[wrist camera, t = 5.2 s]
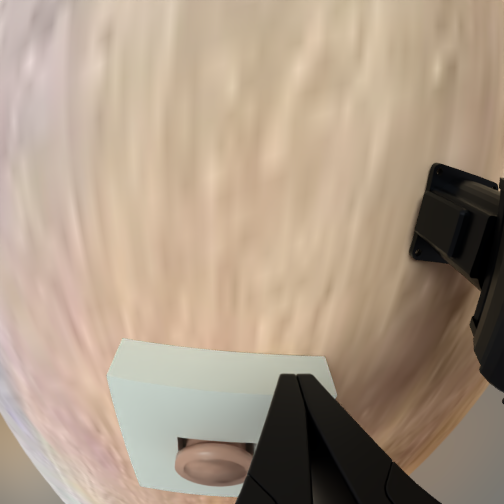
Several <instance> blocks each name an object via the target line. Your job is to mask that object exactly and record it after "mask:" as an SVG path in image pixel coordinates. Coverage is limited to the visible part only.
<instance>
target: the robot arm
mask: <svg viewBox="0 0 504 504" xmlns="http://www.w3.org/2000/svg"><path fill="white" fill-rule="evenodd" d="M438 168H439V169H440V171H439V173H438V174H437V169H438ZM492 187H493V189H492ZM499 189H501V190H500V192H499V191H498V185H497V184H496V183H494V182H492V181H489V180H487V179H484V178H481V177H478V176H476V175H473V174H470V173H467V172H464V171H461V170H458V169H455V168H452V167H449V166H446V165H443V164H440V163H434V164H433V165H432V166H431V169H430V174H429V179H428V183H427V187H426V192H425V194H424V197H423V201H422V205H421V209H420V213H419V216H418V220H417V224H416V228H415V234H414V237H413V241H412V244H411V247H410V252H409V253H410V255H411V256H412V257H413V258H414V259H416V260H423V261H431V262H439V263H447V264H450V265H452V266H453V267H454V268H455V269H456V270H457V271H459V272H460V273H461V274H462V275H463V276H464V277H465V278H467V279H468V280H469V281H470V282H471V283H472V284H473V285H475V286H476V287H477V288H478V289H479V290H480V291H481V294H480V297H479V301H478V304H477V307H476V311H475V314H474V316H472V318H471V321H470V328H471V331H472V333H473V336H474V338H473V342H474V352H475V354H476V356H477V358H478V361H479V363H480V364H481V366H480V368H479V371H480V373H481V374H482V375H483V376H484V377H485V379H486V380H487V381H488V382H489V383H490V384H491V385H493V386H494V387H495V388H497V389H498V390H500V391H502V392H504V178H500V183H499ZM418 249H419V251H418V253H416V254H415V252H416V251H417V250H418ZM502 403H503V404H504V398H503V400H502ZM235 504H442V503H440V502H439V501H437V500H436V499H435V498H434V497H432V496H431V495H430V494H428V493H427V492H426V491H425V490H424V489H422V488H421V487H420V486H419V485H418V484H416V483H415V482H414V481H413V480H412V479H411V478H410V477H409V476H408V475H407V474H406V473H405V472H404V471H403V470H402V469H401V468H400V467H399V466H398V465H397V464H396V463H395V462H392V459H391V458H390V457H389V456H388V455H387V454H386V453H385V452H384V451H383V450H382V449H381V448H380V447H379V446H378V444H377V443H376V442H375V441H374V440H373V439H372V438H371V437H370V436H369V435H368V434H367V433H366V432H365V431H364V430H363V429H362V428H361V427H360V425H359V424H358V423H357V422H356V421H355V420H354V419H353V418H352V417H351V416H350V415H349V414H348V413H347V411H346V410H345V409H344V408H343V407H342V406H341V405H340V404H339V403H338V402H337V401H336V400H335V398H334V397H333V396H332V395H331V394H330V393H329V392H328V391H327V390H326V389H325V388H324V386H323V385H322V384H321V383H320V382H319V381H318V380H317V379H316V378H315V376H314V375H312V374H310V373H305V374H296V375H295V374H288V373H282V374H280V375H279V378H278V381H277V385H276V388H275V391H274V394H273V397H272V401H271V404H270V407H269V410H268V413H267V416H266V419H265V423H264V426H263V429H262V432H261V435H260V438H259V441H258V444H257V447H256V449H255V452H254V455H253V458H252V461H251V464H250V467H249V470H248V472H247V476H246V477H245V480H244V483H243V486H242V488H241V491H240V493H239V496H238V498H237V500H236V503H235Z"/></svg>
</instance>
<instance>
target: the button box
mask: <svg viewBox="0 0 504 504" xmlns="http://www.w3.org/2000/svg"><path fill="white" fill-rule="evenodd" d="M282 373H288V374H295V375H296V374H305V373H310V374H312V375H314V376H315V378H316V379H317V380H318V381H319V382H320V383H321V384H322V385H323V386H324V388H325V389H326V390H327V391H328V392H329V393H330V394H331V395H332V396H333V397H334V398H335V399H336V397H337V393H336V389H335V386H334V383H333V380H332V377H331V374H330V371H329V368H328V365H327V362H326V359H325V356H294V355H273V354H256V353H242V352H230V351H219V350H208V349H199V348H190V347H181V346H173V345H165V344H158V343H151V342H144V341H137V340H131V339H125V338H122V340H121V343H120V345H119V347H118V350H117V352H116V354H115V357H114V359H113V361H112V364H111V366H110V368H109V371H108V373H107V380H108V384H109V388H110V392H111V396H112V400H113V404H114V408H115V412H116V415H117V419H118V422H119V426H120V429H121V432H122V436H123V439H124V442H125V445H126V448H127V451H128V454H129V457H130V460H131V463H132V466H133V468H134V471H135V474H136V477H137V479H138V482H139V485H140V486H142V487H147V488H153V489H159V490H165V491H172V492H180V493H188V494H198V495H209V496H225V497H238V496H239V493H240V491H241V488H242V486H243V483H241V484H238V485H233V486H224V487H216V486H206V485H201V484H197V483H193V482H191V481H188V480H186V479H184V478H183V477H181V476H180V475H179V474H178V473H177V472H176V470H175V460H176V454H177V453H178V451H180V450H181V449H182V448H184V447H186V440H187V438H189V439H199V440H209V441H222V442H238V443H245V447H246V451H247V452H249V453H250V454H251V455H252V456H253V455H254V452H255V449H256V447H257V444H258V441H259V438H260V435H261V432H262V429H263V426H264V423H265V419H266V416H267V413H268V410H269V407H270V404H271V401H272V397H273V394H274V391H275V388H276V385H277V381H278V378H279V375H280V374H282Z"/></svg>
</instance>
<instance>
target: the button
mask: <svg viewBox="0 0 504 504" xmlns="http://www.w3.org/2000/svg"><path fill="white" fill-rule="evenodd" d="M252 458H253V456H252V455H251V454H250V453H249V452H247V451H246V447H245V443H238V442H222V441H209V440H199V439H189V438H187V440H186V447H184V448H182V449H181V450H180V451H178V453H177V454H176V460H175V470H176V472H177V473H178V474H179V475H180V476H181V477H183V478H184V479H186V480H188V481H191V482H193V483H197V484H201V485H206V486H216V487H224V486H233V485H238V484H241V483H244V480H245V477H246V476H247V472H248V470H249V467H250V464H251V461H252Z"/></svg>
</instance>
